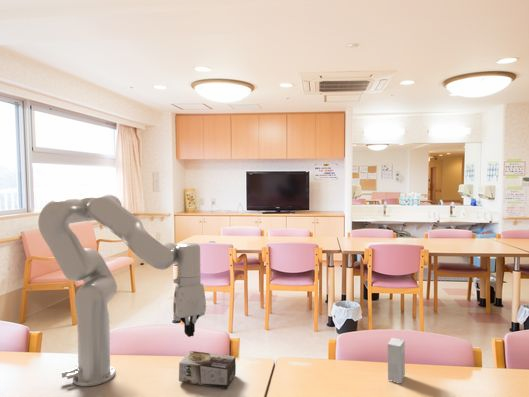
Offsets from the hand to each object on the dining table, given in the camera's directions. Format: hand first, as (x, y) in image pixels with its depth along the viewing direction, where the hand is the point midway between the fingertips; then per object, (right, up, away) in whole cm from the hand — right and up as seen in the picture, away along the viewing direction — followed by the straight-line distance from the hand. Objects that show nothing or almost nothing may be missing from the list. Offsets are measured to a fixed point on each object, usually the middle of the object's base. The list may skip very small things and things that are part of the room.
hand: (189, 335), depth 124 cm
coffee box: (-1, -9, -3) cm, 9 cm away
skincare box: (+67, -13, -5) cm, 69 cm away
